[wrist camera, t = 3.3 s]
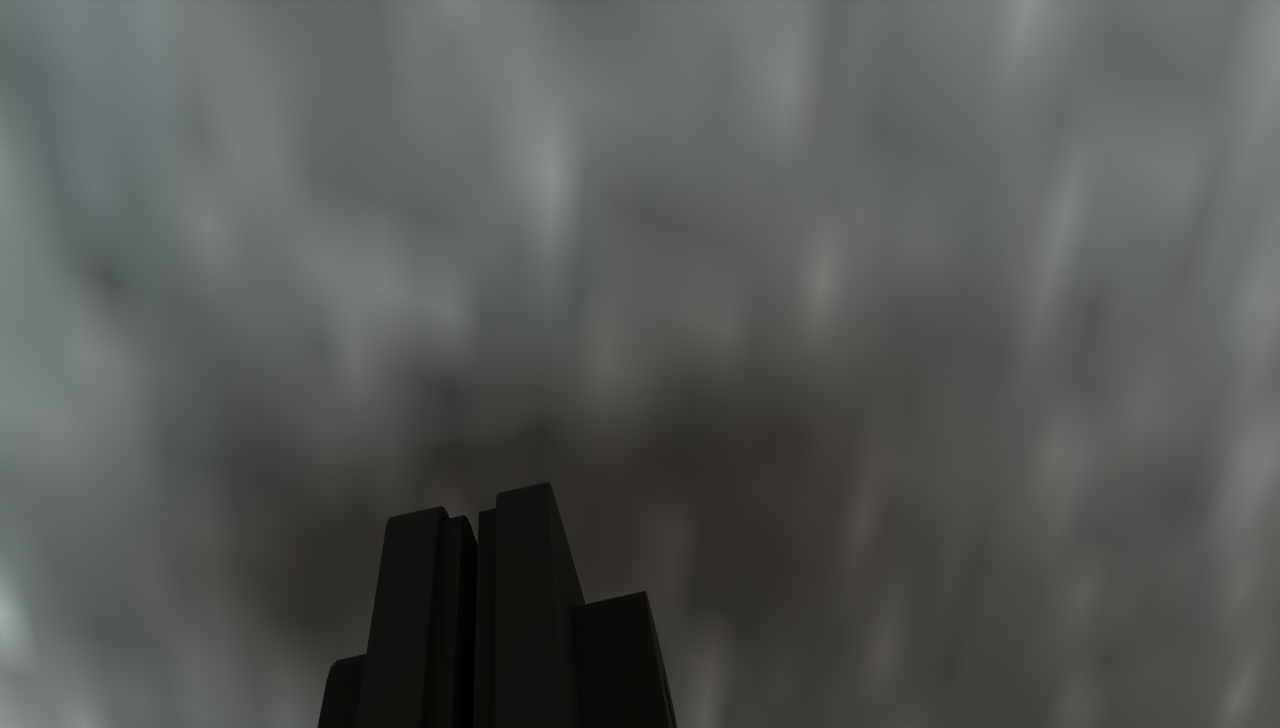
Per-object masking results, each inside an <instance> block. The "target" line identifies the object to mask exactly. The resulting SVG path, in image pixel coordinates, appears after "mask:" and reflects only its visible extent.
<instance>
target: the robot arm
mask: <svg viewBox="0 0 1280 728" xmlns="http://www.w3.org/2000/svg"><path fill="white" fill-rule="evenodd" d="M318 728H677V724H676V719H675V714H674V709H673V704H672V699H671V694H670V690H669V685H668V680H667V676H666V671H665V667H664V662H663V658H662V653H661V649H660V645H659V641H658V637H657V633H656V629H655V624H654V620H653V616H652V612H651V608H650V604H649V600H648V597H647V593H646V591H643V592H638V593H634V594H630V595H625V596H621V597H616V598H612V599H607V600H603V601H598V602H594V603H590V604H585V601H584V598H583V594H582V591H581V587H580V584H579V580H578V577H577V573H576V570H575V566H574V563H573V559H572V556H571V552H570V549H569V545H568V542H567V538H566V535H565V531H564V528H563V524H562V521H561V517H560V514H559V510H558V507H557V503H556V500H555V496H554V493H553V490H552V488H551V485H550V483H549V482H546V483H542V484H537V485H533V486H528V487H524V488H520V489H515V490H511V491H506V492H502V493H498V494H497V496H496V508H494V509H490V510H485V511H481V512H480V513H479V528H478V545H477V543H476V540H475V537H474V534H473V531H472V528H471V525H470V523H469V520H468V519H467V517H466V516H465V515H463V516H458V517H454V518H450V517H449V515H448V513H447V511H446V510H445V508H444V507H442V506H439V507H435V508H430V509H426V510H421V511H417V512H412V513H408V514H404V515H399V516H395V517H391V518H390V519H388V522H387V525H386V531H385V538H384V544H383V551H382V557H381V564H380V570H379V577H378V583H377V590H376V596H375V603H374V609H373V616H372V622H371V628H370V635H369V641H368V648H367V654H363V655H359V656H355V657H350V658H346V659H341V660H337V661H336V662H335V663H334V664H333V665H332V666H331V668H330V672H329V675H328V678H327V682H326V687H325V692H324V697H323V702H322V708H321V713H320V718H319V723H318Z"/></svg>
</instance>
